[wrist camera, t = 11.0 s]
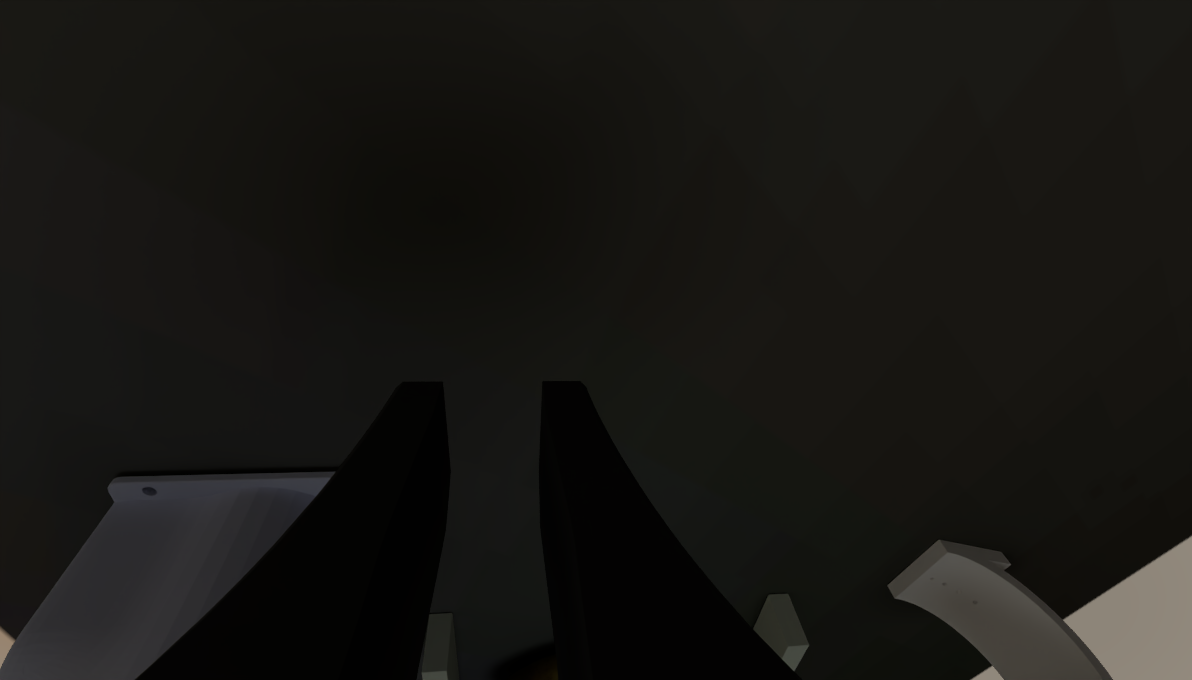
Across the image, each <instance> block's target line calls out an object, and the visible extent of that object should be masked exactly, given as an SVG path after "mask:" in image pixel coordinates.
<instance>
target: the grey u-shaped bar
mask: <svg viewBox="0 0 1192 680" xmlns="http://www.w3.org/2000/svg"><path fill="white" fill-rule="evenodd" d="M753 630H754V631H755V632H756V633H757V634H758V635H759V636H760V637H761V638H762V639H763V640H764V641H765V642H766V643H767V644H768V645H769V646H770V647H771V648H772V649H773V650H774V651H775V652H776V653H777V654H778V655H779V656H780V657H781V659H782V660H783V661H784V662H785V663H786V664H787V665H788V666H789V667H790V668H791V669H792V670H793V671H795V669H796V667H797V665H798V664H799V662H800V660H801V658H802V657H803V655H804V653H805V651H806V650H807V648H808V646H809V644H808V641H807V639H806V636H805V634H804V631H803V629H802V627H801V624H800V622H799V619H798V617H797V614H796V612H795V609H794V607H793V605H792V602H791V600H790V597H789V595H788V594H771V595H768V597H767V599H766V601H765V604H764V606H763V608H762V610H761V612H760V615H759V617H758V619H757V621H756V624H755V626H754V628H753ZM422 677H423V680H459V671H458V661H457V652H456V643H455V633H454V624H453V615H452V613H442V614H429V621H428V629H427V636H426V644H425V651H424V659H423V666H422Z"/></svg>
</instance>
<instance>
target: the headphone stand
mask: <svg viewBox="0 0 1192 680" xmlns="http://www.w3.org/2000/svg"><path fill="white" fill-rule="evenodd" d="M1010 565H1011V564H1010V562H1009V561H1008V560H1007V559H1006V557H1005V556H1004V555H1003V553H1002V552H999V551H994V550H989V549H984V548H979V547H974V546H969V545H964V544H959V543H954V542H949V541H944V540H938V541H937V542H935V543H934V544H933V545H932V546H931V547H930V548H929V549H928V550H926V551H925V552H924V553H923V554H922V555H921V556H920V557H919V558H917V559H916V560H915V561H914V562H913V563H912V564H911V565H910V566H908V567H907V568H906V569H905V570H904V571H903V572H902V573H901V574H900V575H898V576H897V577H896V578H895V579H894V580H893V581H892V582H891V583H889V584H888V585H887V586H888V588H889V589H890V591H891V593H892V595H893V596H894V598H895V599H900V600H904V601H907V602H910V603H913V604H915V605H917V606H920V607H922V608H923V609H925V610H927V611H929V612H931V613H932V614H934V615H936V616H937V617H939V618H940V619H942V620H943V621H945V622H946V623H948V624H949V625H950V626H951V627H953V628H954V629H955V630H957V631H958V632H959V633H960V634H961V635H963V636H964V637H965V638H966V639H967V640H968V641H969V642H970V643H971V644H973V645H974V646H975V647H976V648H977V649H978V650H979V651H980V652H981V653H982V654H983V655H984V657H985V658H986V659H987V660H988V661H989V662H990V663H991V664H992V665H993V667H994V668H995V669H996V670H997V671H998V672H999V674H1000V675H1001V676H1002V677H1003V679H1004V680H1113V679H1112V678H1111V676H1110V675H1109V673H1108V672H1107V671H1106V669H1105V668H1104V667H1103V665H1102V664H1101V663H1100V662H1099V660H1098V659H1097V658H1096V657H1095V655H1094V654H1093V653H1092V652H1091V651H1090V649H1089V648H1088V647H1087V646H1086V645H1085V644H1084V642H1083V641H1082V640H1081V639H1080V638H1079V637H1078V636H1077V635H1076V633H1075V632H1073V630H1072V629H1070V627H1069V626H1068V625H1067V624H1066V623H1065V622H1064V621H1063V620H1062V619H1061V618H1060V617H1059V616H1058V615H1057V614H1056V613H1055V612H1054V611H1053V610H1052V609H1051V608H1050V607H1048V606H1047V605H1046V604H1045V603H1044V602H1043V601H1042V600H1041V599H1040V598H1038V597H1037V596H1036V595H1035V594H1034V593H1033V592H1031V591H1030V590H1029V589H1028V588H1026V587H1025V586H1024V585H1023V584H1021V583H1020V582H1019V581H1018V580H1016V579H1015V578H1013V577H1012V576H1011V575H1009V574H1008V573H1007V572H1005V571H1004V570H1005V569H1006V568H1007V567H1009V566H1010Z"/></svg>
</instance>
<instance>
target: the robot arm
mask: <svg viewBox="0 0 1192 680" xmlns="http://www.w3.org/2000/svg"><path fill="white" fill-rule="evenodd" d="M450 474H451V469H450V458H449V446H448V435H447V423H446V412H445V401H444V389H443V382H402V383H401V384H400V385H399V386H398V387H396V389H395V390H394V392H393V394H392V395H391V397H390V398H389V400H388V401H387V403H386V404H385V406H384V407H383V409H382V410H381V412H380V413H379V414H378V416H377V417H376V419H375V420H374V422H373V423H372V424H371V426H370V427H369V429H368V430H367V431H366V433H365V434H364V435H363V437H362V438H361V440H360V441H359V442H358V444H357V445H356V446H355V448H354V449H353V450H352V452H351V453H350V454H349V455H348V457H347V458H346V459H345V461H344V462H343V463H342V464H341V466H340V467H339V468H338V469H337V471H336V472H296V473H255V474H213V475H171V476H129V477H117V478H115V479H113V481H112V482H111V483H110V485H109V486H108V488H107V489H108V492H109V494H110V495H111V497H112V499H113V500H114V502H115V503H114V504H113V505H112V506H111V508H110V509H109V511H108V512H107V513H106V515H105V516H104V518H103V519H102V520H101V522H100V523H99V524H98V526H97V527H96V529H95V530H94V531H93V533H92V534H91V536H90V537H89V538H88V540H87V541H86V543H85V544H84V545H83V547H82V548H81V550H80V551H79V552H78V554H77V555H76V556H75V558H74V559H73V561H72V562H71V563H70V565H69V566H68V568H67V569H66V570H65V572H64V573H63V575H62V576H61V577H60V579H59V580H58V582H57V583H56V584H55V586H54V587H53V589H52V590H51V591H50V593H49V594H48V595H47V597H46V598H45V600H44V601H43V602H42V604H41V605H40V607H39V608H38V609H37V611H36V612H35V614H34V615H33V616H32V618H31V619H30V621H29V622H28V623H27V625H26V626H25V627H24V629H23V630H22V632H21V633H20V635H19V636H18V638H17V639H16V641H15V642H14V644H13V646H12V647H11V649H10V651H9V653H8V654H7V656H6V658H5V660H4V662H3V664H2V667H1V669H0V680H416V679H417V673H418V667H419V662H420V657H421V652H422V647H423V642H424V637H425V632H426V627H427V622H428V617H429V612H430V607H431V602H432V597H433V592H434V587H435V582H436V577H437V572H438V567H439V562H440V557H441V552H442V547H443V541H444V536H445V531H446V521H447V510H448V498H449V486H450ZM539 494H540V529H541V537H542V545H543V554H544V562H545V570H546V578H547V586H548V594H549V602H550V611H551V619H552V627H553V635H554V643H555V651H556V659H557V670H558V680H802V679H801V678H800V677H799V676H798V675H797V674H796V673H795V672H794V671H793V670H792V669H791V668H790V667H789V666H788V665H787V664H786V663H785V662H784V661H783V660H782V659H781V657H780V656H779V655H778V654H777V653H776V652H775V651H774V650H773V649H772V648H771V647H770V646H769V645H768V644H767V643H766V642H765V641H764V640H763V639H762V638H761V637H760V636H759V635H758V634H757V633H756V632H755V631H754V630H753V629H752V628H751V627H750V626H749V624H748V623H747V622H746V621H745V620H744V619H743V618H742V617H741V615H740V614H739V613H738V612H737V611H736V610H735V609H734V608H733V606H732V605H731V604H730V603H729V602H728V601H727V600H726V598H725V597H724V596H723V595H722V594H721V593H720V592H719V590H718V589H717V588H716V587H715V586H714V585H713V583H712V582H711V581H710V580H709V578H708V577H707V576H706V575H705V574H704V572H703V571H702V570H701V569H700V568H699V566H698V565H697V564H696V563H695V562H694V560H693V559H692V558H691V556H690V555H689V554H688V553H687V551H686V550H685V549H684V547H683V546H682V545H681V544H680V542H679V541H678V540H677V538H676V537H675V536H674V534H673V533H672V532H671V530H670V529H669V527H668V526H667V525H666V523H665V522H664V520H663V519H662V518H661V516H660V515H659V513H658V512H657V511H656V509H655V508H654V506H653V505H652V503H651V502H650V501H649V499H648V498H647V496H646V495H645V493H644V492H643V490H642V489H641V487H640V486H639V484H638V482H637V481H636V479H635V477H634V476H633V474H632V473H631V471H630V469H629V468H628V466H627V465H626V463H625V461H624V460H623V458H622V457H621V455H620V453H619V452H618V450H617V448H616V446H615V445H614V443H613V441H612V439H611V438H610V436H609V434H608V432H607V430H606V428H605V426H604V425H603V423H602V421H601V419H600V417H599V415H598V413H597V411H596V409H595V407H594V405H593V402H592V400H591V398H590V396H589V393H588V391H587V388H586V386H585V385H584V384H582V383H581V382H580V381H542V407H541V432H540V457H539Z"/></svg>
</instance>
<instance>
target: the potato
mask: <svg viewBox="0 0 1192 680" xmlns="http://www.w3.org/2000/svg"><path fill="white" fill-rule="evenodd" d="M506 680H558V670H557V659H556V654H555V655H550V656H546V657H543V658H541V659H539V660H537V661H535V662H533V663H531V664H530V665H528V666H526V667H524V668H522V669H520V670H518V671H516V672H515V673H513V674H512V675H511V676H509V677H508V678H507V679H506Z"/></svg>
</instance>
